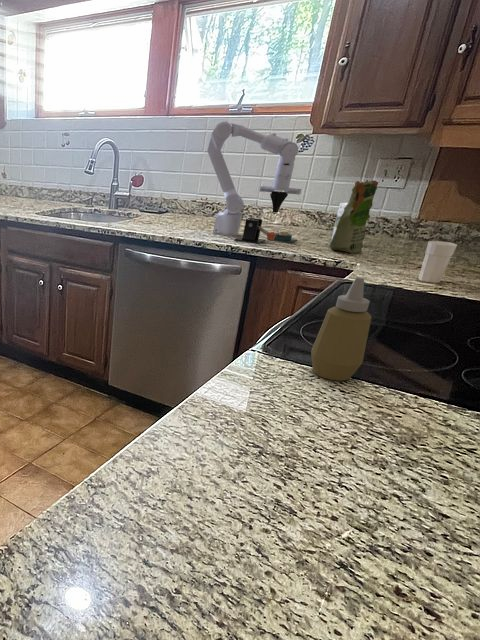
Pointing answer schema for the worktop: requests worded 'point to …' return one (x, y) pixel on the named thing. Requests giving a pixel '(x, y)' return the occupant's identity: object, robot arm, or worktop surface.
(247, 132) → the robot arm
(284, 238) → the button block
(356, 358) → the squeeze bottle
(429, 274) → the cup
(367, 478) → the worktop surface
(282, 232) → the button
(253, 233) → the switch bracket
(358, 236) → the pouch
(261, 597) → the worktop surface
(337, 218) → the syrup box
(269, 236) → the switch lever
